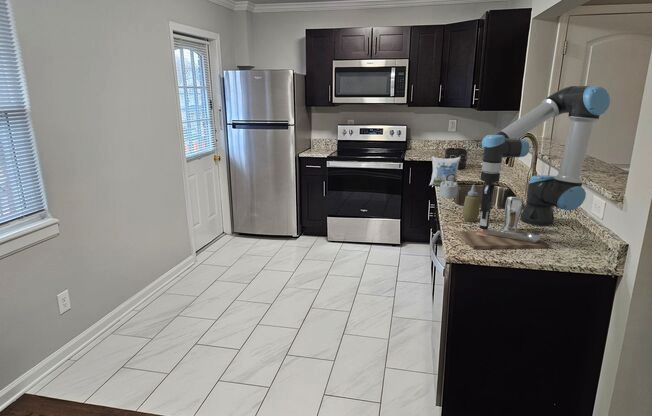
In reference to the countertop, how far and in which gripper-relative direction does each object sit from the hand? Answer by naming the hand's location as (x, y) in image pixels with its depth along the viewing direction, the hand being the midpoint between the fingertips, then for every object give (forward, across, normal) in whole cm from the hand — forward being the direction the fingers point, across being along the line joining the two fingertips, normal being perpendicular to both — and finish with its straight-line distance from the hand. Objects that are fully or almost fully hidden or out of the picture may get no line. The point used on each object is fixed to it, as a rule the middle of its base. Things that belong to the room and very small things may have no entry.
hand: (484, 224), depth 184 cm
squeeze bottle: (+6, -21, -10) cm, 24 cm away
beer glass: (+6, -17, +9) cm, 20 cm away
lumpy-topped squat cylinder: (+6, -65, -33) cm, 74 cm away
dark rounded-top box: (+6, -164, -54) cm, 173 cm away
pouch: (+6, -91, -43) cm, 101 cm away
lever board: (+6, +2, +8) cm, 10 cm away
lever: (+4, 0, +10) cm, 11 cm away
